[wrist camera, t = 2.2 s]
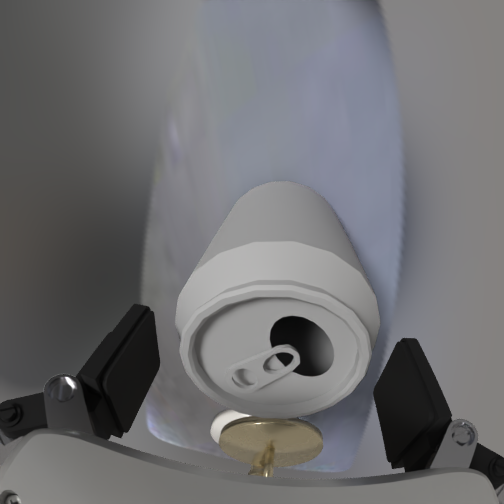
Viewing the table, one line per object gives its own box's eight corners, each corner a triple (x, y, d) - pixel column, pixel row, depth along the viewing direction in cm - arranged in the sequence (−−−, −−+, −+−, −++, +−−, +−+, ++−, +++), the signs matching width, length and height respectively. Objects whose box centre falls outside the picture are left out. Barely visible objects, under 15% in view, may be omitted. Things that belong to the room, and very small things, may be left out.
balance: (245, 304, 22) (205, 472, 10) (323, 314, 22) (339, 483, 9) (235, 405, 28) (212, 520, 15) (291, 412, 27) (284, 528, 15)
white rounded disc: (212, 398, 28) (209, 407, 27) (315, 411, 27) (316, 420, 26) (213, 442, 32) (211, 450, 31) (295, 452, 32) (294, 460, 31)
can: (354, 255, 19) (409, 394, 9) (261, 298, 22) (237, 442, 11) (306, 157, 17) (342, 214, 6) (205, 212, 19) (115, 323, 8)
